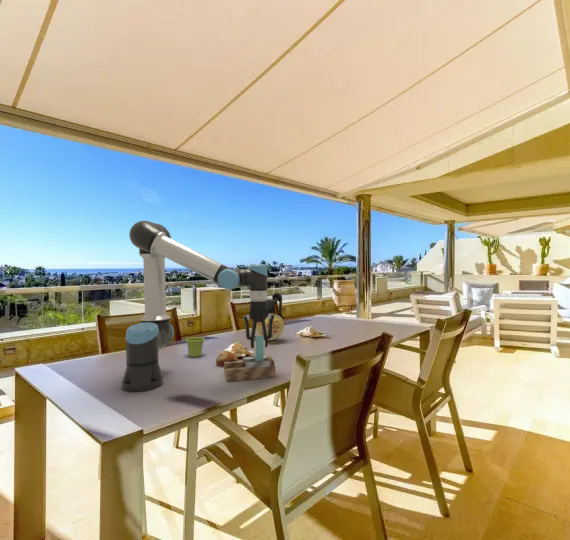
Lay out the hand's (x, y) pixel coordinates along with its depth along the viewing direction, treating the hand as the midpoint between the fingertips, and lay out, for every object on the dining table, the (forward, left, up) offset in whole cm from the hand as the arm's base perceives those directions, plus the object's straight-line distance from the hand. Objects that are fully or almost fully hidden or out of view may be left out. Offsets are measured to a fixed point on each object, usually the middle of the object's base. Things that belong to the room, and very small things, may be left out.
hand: (259, 355), depth 148 cm
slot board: (-4, 0, -8) cm, 9 cm away
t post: (0, 0, -6) cm, 6 cm away
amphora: (+18, +60, -8) cm, 63 cm away
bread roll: (-12, +19, -9) cm, 23 cm away
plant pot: (-26, +39, -8) cm, 48 cm away
